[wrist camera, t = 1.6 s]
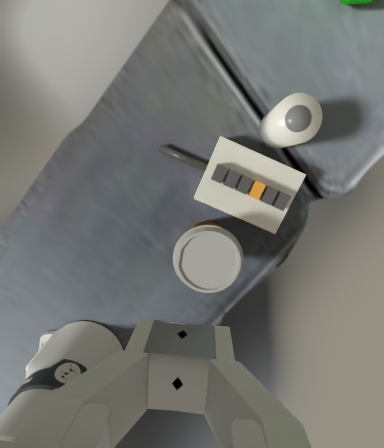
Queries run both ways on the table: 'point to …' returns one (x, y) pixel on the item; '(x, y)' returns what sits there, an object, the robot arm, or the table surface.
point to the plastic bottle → (355, 1)
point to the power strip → (257, 173)
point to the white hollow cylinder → (291, 121)
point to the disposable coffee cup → (208, 257)
